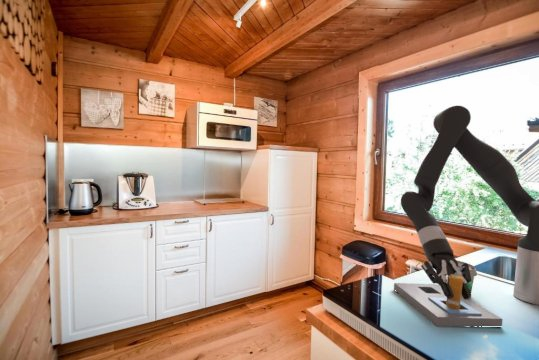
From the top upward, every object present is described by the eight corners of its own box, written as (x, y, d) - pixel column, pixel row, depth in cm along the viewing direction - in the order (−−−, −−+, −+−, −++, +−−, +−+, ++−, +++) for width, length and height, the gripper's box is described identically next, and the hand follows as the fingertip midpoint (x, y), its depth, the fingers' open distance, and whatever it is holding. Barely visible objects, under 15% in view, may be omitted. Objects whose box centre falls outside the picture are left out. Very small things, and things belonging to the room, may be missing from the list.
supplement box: (460, 315, 76) (463, 279, 76) (445, 311, 78) (448, 276, 78) (459, 310, 79) (462, 276, 79) (445, 306, 81) (448, 273, 81)
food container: (483, 303, 88) (485, 272, 87) (461, 300, 89) (464, 269, 89) (463, 287, 100) (466, 260, 100) (445, 285, 101) (447, 258, 101)
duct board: (444, 291, 95) (444, 283, 95) (501, 328, 73) (502, 317, 73) (393, 290, 94) (394, 281, 94) (436, 326, 72) (437, 315, 72)
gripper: (418, 236, 85) (442, 292, 73) (462, 238, 86) (492, 294, 74) (407, 248, 90) (428, 302, 79) (449, 250, 91) (475, 303, 80)
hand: (459, 297), depth 77 cm, fingers closed on supplement box, 4 cm apart
